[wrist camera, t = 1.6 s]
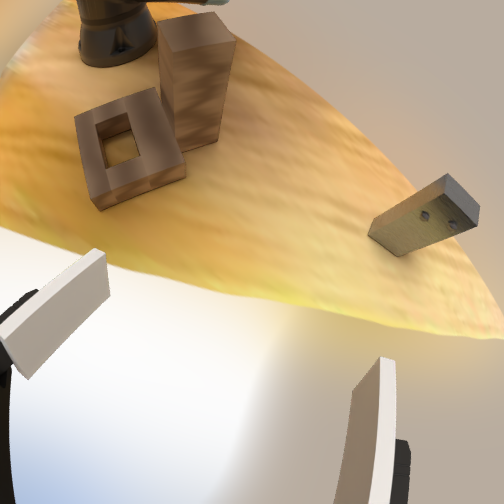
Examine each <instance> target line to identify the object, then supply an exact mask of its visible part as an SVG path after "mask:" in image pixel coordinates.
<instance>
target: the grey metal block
mask: <svg viewBox="0 0 504 504" xmlns="http://www.w3.org/2000/svg"><path fill="white" fill-rule="evenodd" d="M479 210H480V206H479V204H478V203H477V202H476V201H475V200H474V199H473V198H472V197H471V196H470V195H469V194H468V193H467V192H466V191H465V190H464V189H463V188H462V187H461V186H460V185H459V184H458V183H457V182H456V181H455V180H454V179H453V178H452V177H451V176H450V175H449V174H448V173H447V174H446V175H444V176H442V177H441V178H439V179H438V180H436V181H435V182H433V183H431V184H430V185H428V186H427V187H425V188H424V189H422V190H420V191H419V192H417V193H415V194H414V195H412V196H410V197H409V198H407V199H406V200H404V201H402V202H401V203H399V204H397V205H396V206H394V207H393V208H391V209H389V210H388V211H386V212H384V213H383V214H381V215H379V216H378V217H376V218H374V221H373V223H372V226H371V228H370V231H369V233H368V235H369V236H370V237H371V238H373V239H374V240H376V241H377V242H378V243H380V244H381V245H382V246H384V247H385V248H386V249H388V250H389V251H390V252H392V253H393V254H394V255H396V256H397V257H399V256H401V255H404V254H407V253H410V252H412V251H415V250H418V249H420V248H423V247H426V246H428V245H431V244H434V243H436V242H439V241H442V240H444V239H447V238H449V237H452V236H454V235H457V234H459V233H462V232H465V231H467V230H469V229H472V228H474V227H477V226H478V219H479Z"/></svg>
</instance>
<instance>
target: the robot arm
mask: <svg viewBox="0 0 504 504" xmlns="http://www.w3.org/2000/svg"><path fill="white" fill-rule="evenodd" d="M146 2H171V3H188V4H200V5H203V6H204V5H224V4H226V3H228V2H229V0H77V5H78V9H79V14H80V18H81V22H82V24H81V30H80V40H79V45H78V48H79V53H80V56H81V59H82V61H83V62H84V63H86V64H88V65H90V66H94V67H110V66H115V65H120V64H123V63H126V62H129V61H131V60H134V59H136V58H138V57H140V56H141V55H143V54H144V53H146V52H147V51H148V50H149V49H151V48H152V46H153V45H154V44H155V42H156V40H157V25H156V23H155V21H154V20H153V18H152V16H151V14H150V11H149V9H148V7H147V5H146ZM109 296H110V290H109V282H108V273H107V263H106V253H104V252H102V251H100V250H98V249H96V248H94V249H92V250H91V251H90V252H88V253H87V254H86V255H84V256H83V257H82V258H80V259H79V260H78V261H76V262H75V263H74V264H72V265H71V266H70V267H68V268H67V269H66V270H65V271H63V272H62V273H61V274H59V275H58V276H57V277H56V278H54V279H53V280H52V281H51V282H49V283H48V284H47V285H46V286H44V287H43V288H42V289H41V290H40V291H39V290H37V289H35V290H32V291H30V292H28V293H26V294H25V295H24V296H23V297H21V298H20V299H19V301H17V302H15V303H14V304H13V306H11V307H9V308H8V309H7V310H6V311H5V312H4V313H3V314H1V315H0V504H16V503H15V497H14V490H13V482H12V474H11V461H10V446H9V445H10V444H9V406H10V387H11V374H12V369H11V365H12V364H14V365H15V367H16V368H17V370H18V371H19V372H20V373H21V374H22V375H23V376H24V377H25V378H26V379H27V380H29V379H30V377H31V376H32V375H33V374H34V373H35V372H36V371H37V370H38V369H39V368H40V366H41V365H42V364H43V363H44V362H45V361H46V360H47V359H48V358H49V357H50V356H51V355H52V354H53V353H54V352H55V351H56V349H58V347H59V346H60V345H61V344H62V343H63V342H64V341H65V340H66V339H67V338H68V337H69V336H70V335H71V334H72V333H73V332H74V331H75V330H76V329H77V328H78V327H79V326H80V325H81V324H82V323H83V322H84V321H85V320H86V319H87V318H88V317H89V316H90V315H91V314H92V313H93V312H94V311H95V310H96V309H97V308H98V307H99V306H100V305H101V304H102V303H103V302H104V301H105V300H106V299H107V298H108V297H109ZM395 432H396V368H395V361H394V360H390V359H387V358H384V357H379V358H378V360H377V361H376V362H375V364H374V365H373V366H372V368H371V369H370V370H369V371H368V373H367V374H366V375H365V376H364V378H363V379H362V380H361V381H360V382H359V384H358V385H357V386H356V387H355V388H354V390H353V391H352V399H351V407H350V415H349V422H348V429H347V436H346V443H345V448H344V454H343V460H342V465H341V470H340V476H339V481H338V486H337V490H336V494H335V499H334V503H333V504H407V502H408V492H409V480H410V477H409V475H410V464H411V451H410V449H409V445H408V442H407V441H405V440H399V439H395V434H396V433H395Z"/></svg>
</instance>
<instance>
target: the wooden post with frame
mask: <svg viewBox="0 0 504 504" xmlns="http://www.w3.org/2000/svg"><path fill="white" fill-rule="evenodd" d="M157 34H158V56H159V72H160V86H161V99H162V104H161V101H160V98H159V96H158V93H157V91H156V88H155V87H153V88H150V89H147V90H144V91H141V92H137V93H134V94H131V95H129V96H126V97H123V98H120V99H117V100H114V101H112V102H109V103H106V104H104V105H101V106H99V107H96V108H94V109H91V110H89V111H87V112H84V113H82V114H80V115H77V116H75V117H74V119H75V125H76V132H77V138H78V143H79V149H80V154H81V159H82V164H83V169H84V173H85V178H86V182H87V187H88V191H89V195H90V199H91V200H92V202H93V203H94V204H95V206H96V207H97V208H98V209H99V211H101V210H103V209H106V208H108V207H110V206H113V205H115V204H118V203H120V202H122V201H125V200H127V199H130V198H132V197H135V196H137V195H140V194H142V193H145V192H147V191H150V190H153V189H155V188H158V187H160V186H163V185H166V184H169V183H171V182H174V181H177V180H179V179H182V178H185V177H186V170H185V160H184V158H183V155H182V152H185V151H188V150H191V149H194V148H197V147H200V146H203V145H207V144H210V143H213V142H216V141H218V136H219V130H220V124H221V118H222V112H223V107H224V101H225V96H226V90H227V85H228V80H229V75H230V70H231V65H232V60H233V55H234V50H235V45H236V39H235V38H234V37H233V35H232V34H231V33H230V31H229V30H228V29H227V27H226V26H225V25H224V23H223V22H222V21H221V20H220V18H219V17H218V16H217V14H216V13H215V12H207V13H200V14H194V15H188V16H182V17H177V18H172V19H167V20H162V21H158V22H157ZM130 129H132V133H133V136H134V139H135V142H136V145H137V148H138V151H139V154H140V156H138V157H136V158H133V159H130V160H128V161H125V162H123V163H120V164H118V165H115V166H113V167H110V168H108V164H107V160H106V156H105V152H104V148H103V144H102V140H104V139H106V138H109V137H111V136H114V135H116V134H119V133H121V132H124V131H127V130H130Z"/></svg>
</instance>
